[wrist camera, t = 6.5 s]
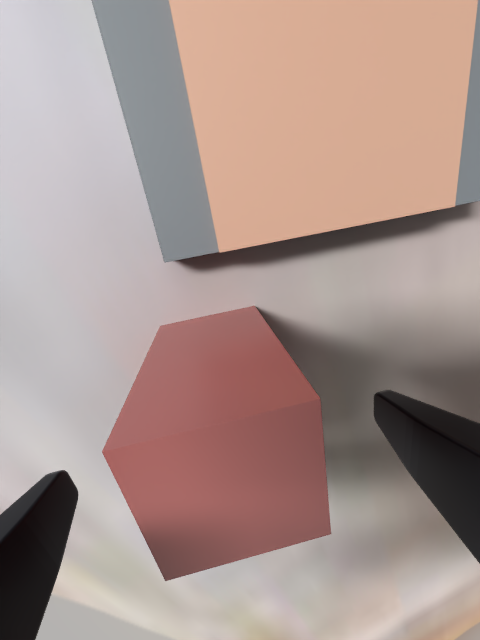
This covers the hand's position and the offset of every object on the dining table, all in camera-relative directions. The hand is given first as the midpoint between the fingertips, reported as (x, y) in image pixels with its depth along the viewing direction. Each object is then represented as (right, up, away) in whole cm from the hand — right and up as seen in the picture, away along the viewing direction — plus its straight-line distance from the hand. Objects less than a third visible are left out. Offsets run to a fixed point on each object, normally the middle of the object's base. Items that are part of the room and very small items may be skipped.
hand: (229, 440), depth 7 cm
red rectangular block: (-1, +2, +5) cm, 5 cm away
